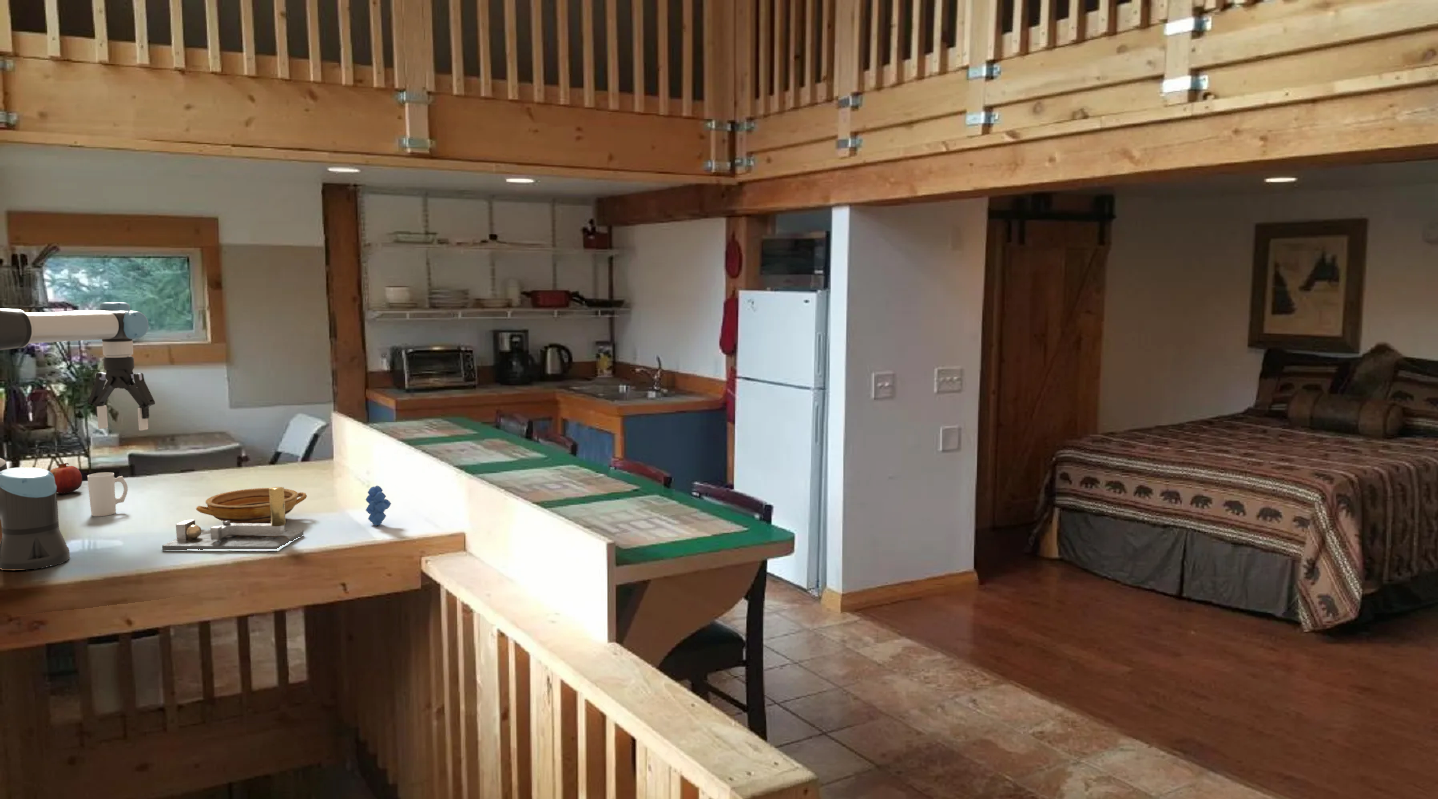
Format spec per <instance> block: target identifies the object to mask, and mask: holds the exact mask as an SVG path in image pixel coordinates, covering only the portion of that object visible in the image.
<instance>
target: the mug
mask: <svg viewBox="0 0 1438 799" xmlns="http://www.w3.org/2000/svg"><path fill="white" fill-rule="evenodd" d="M86 476H87V485H88V494H89V495H88V496H89V504H90V505H89V506H90V512H91V516H93V517H107V516H111V515H114V514H116V512H117V508H116V507H117V506H116V505H118V504H119V503H124V502H125V500H126V497H127V494H128V490H129V487H128V484H127V481H126V480H125V478H124V477H123V475H121V476H120V475H119V476H117V477H115V473H114V472H96V473H91V474H88V475H86ZM117 482H119V483H120V484H122V486H123V490H122V491H123V493H122V494H121V496H119V497H116V492H115V491H116V490H115V488H116V487H115V484H116V483H117Z"/></svg>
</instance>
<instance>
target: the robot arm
mask: <svg viewBox="0 0 1438 799" xmlns="http://www.w3.org/2000/svg"><path fill="white" fill-rule="evenodd" d="M148 331H149V320H148V318H147V316H146V315H145V314H144V313H142V312H141V311H136V310H131V306H130V304H129V303H128V302H118V301H117V302H115V301H114V302H113V301H111V302H101V303H100V304H99V309H86V310H85V309H83V310H81V309H78V310H77V309H75V310H70V311H69V310H68V311H55V312H54V311H49V312H47V311H45V312H26V311H24V310H22V309H19V308H3V307H2V308H0V351H3V350H4V351H5V350H12V349H23V348H25V347H27V346H28V345H29V344H39V343H40V344H42V343H57V342H58V343H59V342H60V343H61V342H75V341H76V342H77V341H78V342H79V341H93V340H94V341H95V340H99V341H100V340H101V341H102V342H101V343H102V355H103V356H104V357H103V370H104V371H100V372H96V373H95V381H94V384H93V387H92V390H91V392H90V396H89V398H88V404H90V405H93V406H94V407H95V408H94V410H95V417H96V418H97V425H98V426H97V428H98V430H102V429H103V430H104V429H106V428H109V422H108V408H107V405H106V402H107V401H108V399H109V397H111V395H112V393H113V391H114V390H115V389H120V390H121V389H124V390H125V391H127V392H128V393H129V395H130V396H131V397H132V399H133V400H134V401H135V402H136V404H138V407H137V421H138V431H147V430H149V420H148V419H149V418H150V407H151V406H154V405H155V404H156V402H155V399H154V398H153V395H152V393H151V392H150V389H149V387H148V385H147V383H146V381H145V376H144V373H142V372H138V373H137V372H136V373H134V369H135V358H134V356H132V355H134V344H133V341H134V340H133V339H141V338H143V337H145V335H147V333H148ZM105 371H106V372H105ZM50 471H51V470H48V469H45V468H39V467H23V466H21V467H19V466H18V467H11V468H8V467H7V461H6V460H5V459H3V458H1V457H0V525H1V534H2V535H1V536H2V537H1V540H0V568H2V569H34V570H37V569H36V568H41V569H43V568H42V567H46V566H50V565H54V566H58V565H61V564H63V563H65V562H64V561H66V562H67V561H69V560H70V559H71V554H70V548H69V547H68V545H67V542H66V540H65V538H64V536H63V534H62V532H61V530H60V525H59V524H60V523H59V506H58V492H57V486H56V484H55V478H54V475H53V474H52V473H51V472H50ZM69 558H70V559H69ZM68 559H69V560H68ZM62 562H63V563H62ZM60 563H61V564H60ZM57 564H58V565H57ZM50 567H51V566H50ZM46 568H47V567H46Z"/></svg>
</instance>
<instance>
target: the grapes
mask: <svg viewBox="0 0 1438 799" xmlns="http://www.w3.org/2000/svg"><path fill="white" fill-rule="evenodd" d="M367 494H368V495H367V497H366V499H365V501H366V502H367V503H368V506H367V507H366V509H365V511H366V513H367V514H369V516H368V518H367V519H368V521H369V522H370V523H372V524H373V525H374V526H375V525H379V526H381V524H382V523H383V522H384V520H385V519H386V517H387V515H386V513H384V512H386V510H388V509H389V508H390V506H391V505H392V503H391V501H390V500H388V499H386V497H387V496H386V495H385V493H384V492H383V488H382V487H381V486H379V485H375V486H371V487H370V488H369V489H368V491H367Z"/></svg>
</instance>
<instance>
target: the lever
mask: <svg viewBox="0 0 1438 799" xmlns="http://www.w3.org/2000/svg"><path fill="white" fill-rule="evenodd" d="M268 488H269V496H270V514H271V523H230V521H222V524H220V525H213V526H211V527H210V528H209V530H210V531H211V540H219V539H221V538H223V537H225V536H227V535H281V534H283V533H285V525H287V524H286V515H285V501H284V489H285V487H284V486H273V487H268Z"/></svg>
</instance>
